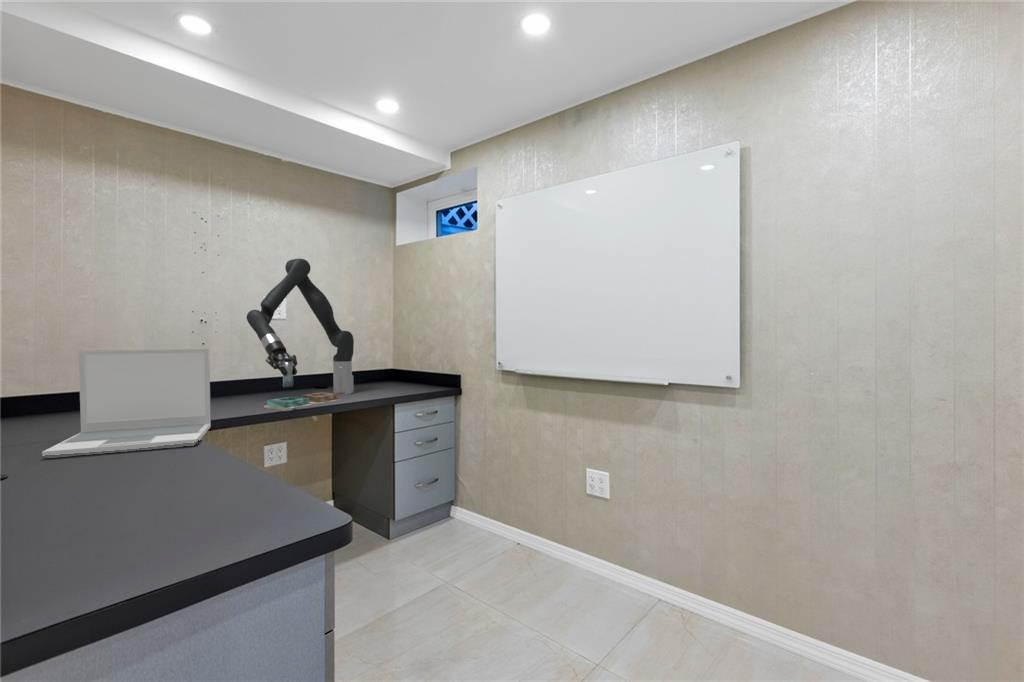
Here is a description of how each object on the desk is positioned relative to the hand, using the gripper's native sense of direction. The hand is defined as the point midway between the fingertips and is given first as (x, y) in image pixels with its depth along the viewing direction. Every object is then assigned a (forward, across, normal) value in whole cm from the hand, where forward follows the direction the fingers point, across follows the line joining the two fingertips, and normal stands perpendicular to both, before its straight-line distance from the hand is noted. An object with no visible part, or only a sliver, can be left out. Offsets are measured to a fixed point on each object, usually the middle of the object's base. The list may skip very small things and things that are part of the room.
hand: (290, 374), depth 208 cm
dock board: (+9, +8, +12) cm, 17 cm away
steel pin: (+3, 0, +5) cm, 6 cm away
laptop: (+22, -63, +1) cm, 67 cm away
